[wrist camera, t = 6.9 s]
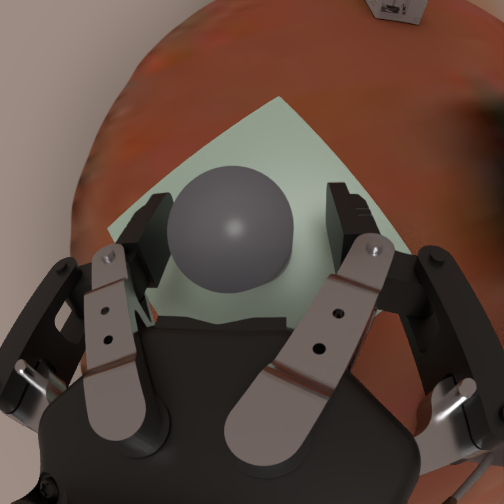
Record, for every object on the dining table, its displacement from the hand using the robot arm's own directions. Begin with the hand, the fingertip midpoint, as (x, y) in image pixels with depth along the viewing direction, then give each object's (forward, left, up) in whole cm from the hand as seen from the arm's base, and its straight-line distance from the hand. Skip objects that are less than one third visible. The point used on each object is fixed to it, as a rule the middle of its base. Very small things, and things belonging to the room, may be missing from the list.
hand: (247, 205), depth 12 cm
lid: (-1, +1, -5) cm, 5 cm away
